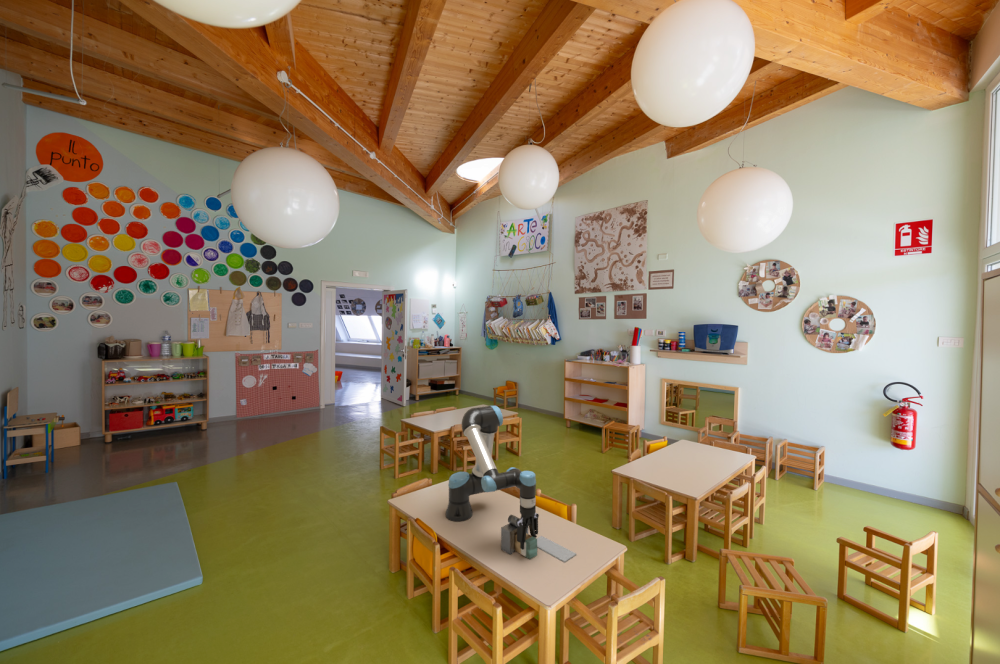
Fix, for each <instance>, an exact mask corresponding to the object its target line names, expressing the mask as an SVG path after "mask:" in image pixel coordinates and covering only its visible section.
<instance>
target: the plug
mask: <svg viewBox="0 0 1000 664" xmlns="http://www.w3.org/2000/svg"><path fill="white" fill-rule="evenodd" d="M537 538H538V537H536V538H535V537H533V536H531V535H530V533H528V534H527V533H526V538H525V542H526V556H524V555H522V554H521V548H520V542H518V541H517V532H515V533H514V552H516V553H518V554H520V555H521V556H523V557H525V558H527V559H529V560H532V559H533V558H535V557H536V556H538V548H537Z"/></svg>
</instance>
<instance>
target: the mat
mask: <svg viewBox="0 0 1000 664" xmlns="http://www.w3.org/2000/svg"><path fill="white" fill-rule="evenodd" d="M536 538H537V549H539V550H541V551H542V552H545V553H546V554H548V555H550V556H552V557H553V558H556V559H557V560H559V561H561V562H563V563H566V562H568V561H570V560H571V559H573V558H574V557H575V556H577V555H578V554H577V553H576V552H575V551H572V550H570V549H569V548H566V547H564V546H563V545H561V544H558V543H556V542H554V541H553V540H551V539H549V538H547V537H545V536H543V535H540V536H539V537H538V536H537V537H536Z"/></svg>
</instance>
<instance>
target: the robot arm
mask: <svg viewBox="0 0 1000 664" xmlns="http://www.w3.org/2000/svg"><path fill="white" fill-rule="evenodd" d="M503 423H504V415H503V413H502V411H501V408H500V407H498V406H497V405H487V406H479V407H472V408H470V409H468V410H466V412H465V413H464V415H463V416H462V419H461V430H462V433H463V435H464V436H465V437H466V438H467V440H468V442H469V445H470V447H471V450H472V452H473V454H474V457H475V465H474V466H473V467H472V469H471V473H469V472H468V471H467V472H466V471H458V472H455V473H453V474H451V475H450V476H449V479H448V504H447V508H446V511H445V517H446V519H448V520H450V521H453V522H464V521H467V520H469V519H470V518H472V516H473V508H472V505H471V503H470V496H473V495H477V494H482V493H493V492H495V491H496V492H497V491H500V490H505V489H509V488H513V487H516V488H517V489H518V490H519V513H520V519H521V520H520V521H519V522H518V521H517V522H516V524H517V541H518V542H520V548H521V554H522V555H521V554H520V555H521V556H523V555H524V556H523V557H525V556H526V542H525V538H526V532H527V528H528V531H529V535H531V536H533V537H535V538H538V534H539V517H540V514H539V513H538V512H537V511H536V508H537V506H536V502H537V501H536V493H537V492H536V491H537V486H536V485H537V479H536V473H535V472H534V471H531V470H523V471H522V470H520V469H519V468H516V467H512V466H511V467H509V468H508V469H506V471H504V472H499V471H498V469H497V466H496V464H495V462H494V459H493V457H492V454H493V447H494V446H493V445H494V438H495V434H496V433H497V432H498V429H499V427H500V426H502V425H504V424H503ZM536 512H537V513H536Z"/></svg>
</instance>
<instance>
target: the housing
mask: <svg viewBox="0 0 1000 664" xmlns="http://www.w3.org/2000/svg"><path fill="white" fill-rule="evenodd" d="M520 518H521V517H520ZM520 518H519V517H517V516H516V515H514V514H510V515H508V518H507V522H508V523H507V524H506V525H503V526H501V528H500V540H501V541H500V549H501V550H502V551H503V552H505V553H506V554H508V555H511V554H512V555H513V554H514V553H515V551H514V533H515V532H517V524H516V522H517V521H518V522H519V521H520V520H521V519H520ZM526 533H527V534H529V527H528V528H527V532H526Z"/></svg>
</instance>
